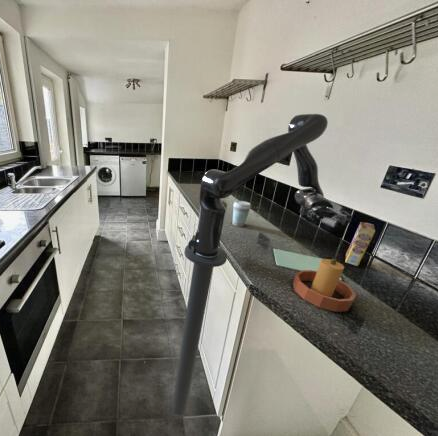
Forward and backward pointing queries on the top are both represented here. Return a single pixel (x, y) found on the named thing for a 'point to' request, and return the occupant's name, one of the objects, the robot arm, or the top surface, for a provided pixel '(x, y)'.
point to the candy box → (359, 243)
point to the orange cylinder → (327, 277)
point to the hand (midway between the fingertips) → (330, 220)
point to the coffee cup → (240, 212)
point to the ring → (320, 299)
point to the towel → (296, 261)
